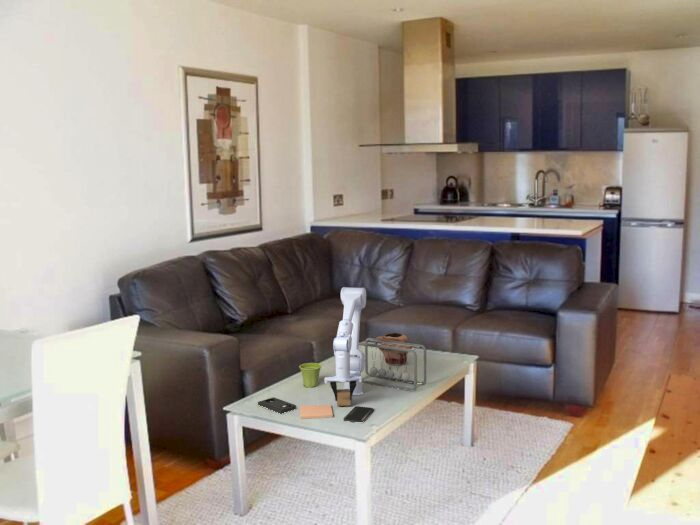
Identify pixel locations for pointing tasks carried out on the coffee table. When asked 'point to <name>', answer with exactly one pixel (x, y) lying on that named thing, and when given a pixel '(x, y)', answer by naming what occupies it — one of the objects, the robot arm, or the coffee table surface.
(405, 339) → the decorative planter
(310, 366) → the plant pot
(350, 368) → the robot arm
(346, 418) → the phone
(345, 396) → the walnut cube
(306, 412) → the terracotta tile
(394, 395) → the coffee table surface
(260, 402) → the vhs tape
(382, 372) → the newton's cradle
